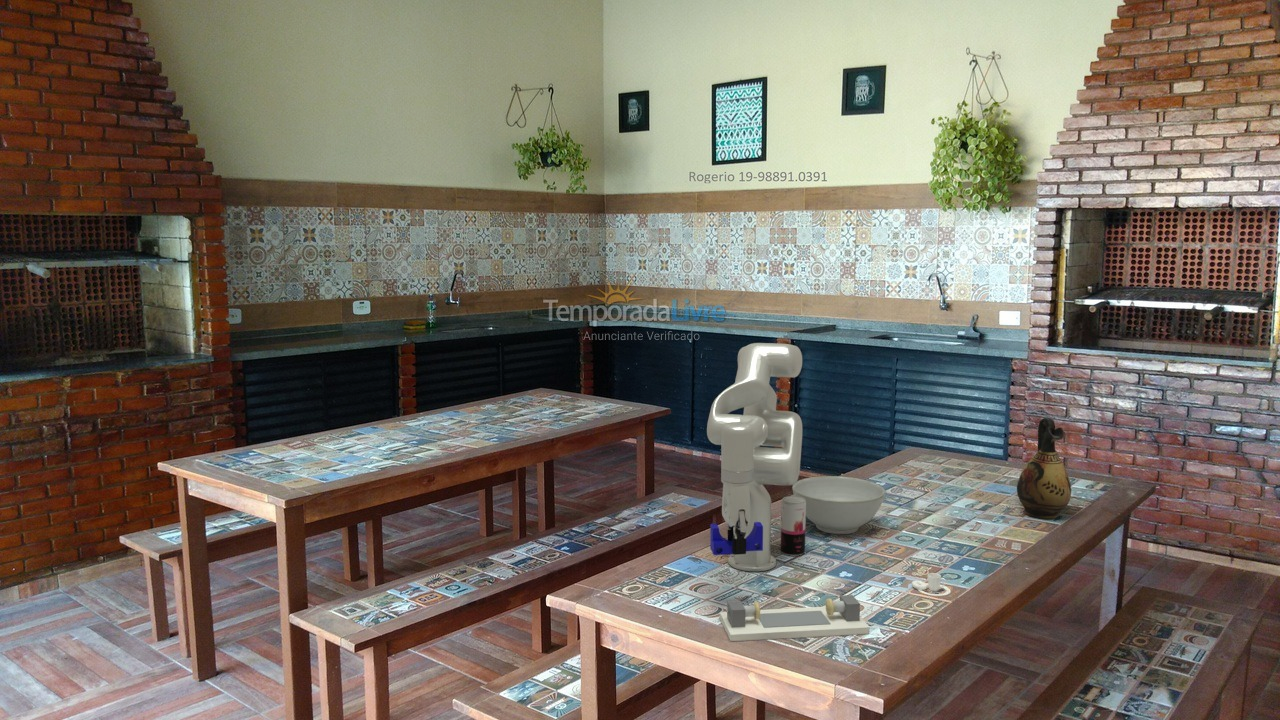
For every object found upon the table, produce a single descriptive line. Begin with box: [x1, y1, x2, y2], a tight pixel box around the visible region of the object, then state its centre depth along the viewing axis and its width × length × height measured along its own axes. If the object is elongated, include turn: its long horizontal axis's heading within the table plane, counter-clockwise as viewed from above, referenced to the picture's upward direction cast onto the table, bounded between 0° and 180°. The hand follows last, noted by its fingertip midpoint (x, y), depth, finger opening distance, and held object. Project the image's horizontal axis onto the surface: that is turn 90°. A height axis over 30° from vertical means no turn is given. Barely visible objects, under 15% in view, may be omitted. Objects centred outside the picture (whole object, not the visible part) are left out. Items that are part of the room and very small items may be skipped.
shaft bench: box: [719, 594, 870, 642], centre depth 208 cm, size 12×31×6 cm, turn 97°
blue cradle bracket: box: [709, 522, 763, 556], centre depth 220 cm, size 12×4×6 cm, turn 96°
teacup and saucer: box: [911, 572, 951, 597], centre depth 229 cm, size 9×8×4 cm
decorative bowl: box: [791, 475, 886, 535], centre depth 275 cm, size 27×27×12 cm
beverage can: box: [780, 495, 807, 557], centre depth 254 cm, size 7×7×15 cm
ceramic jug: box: [1016, 417, 1072, 520], centre depth 287 cm, size 17×15×30 cm
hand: (736, 548), depth 220 cm, fingers closed on blue cradle bracket, 4 cm apart
